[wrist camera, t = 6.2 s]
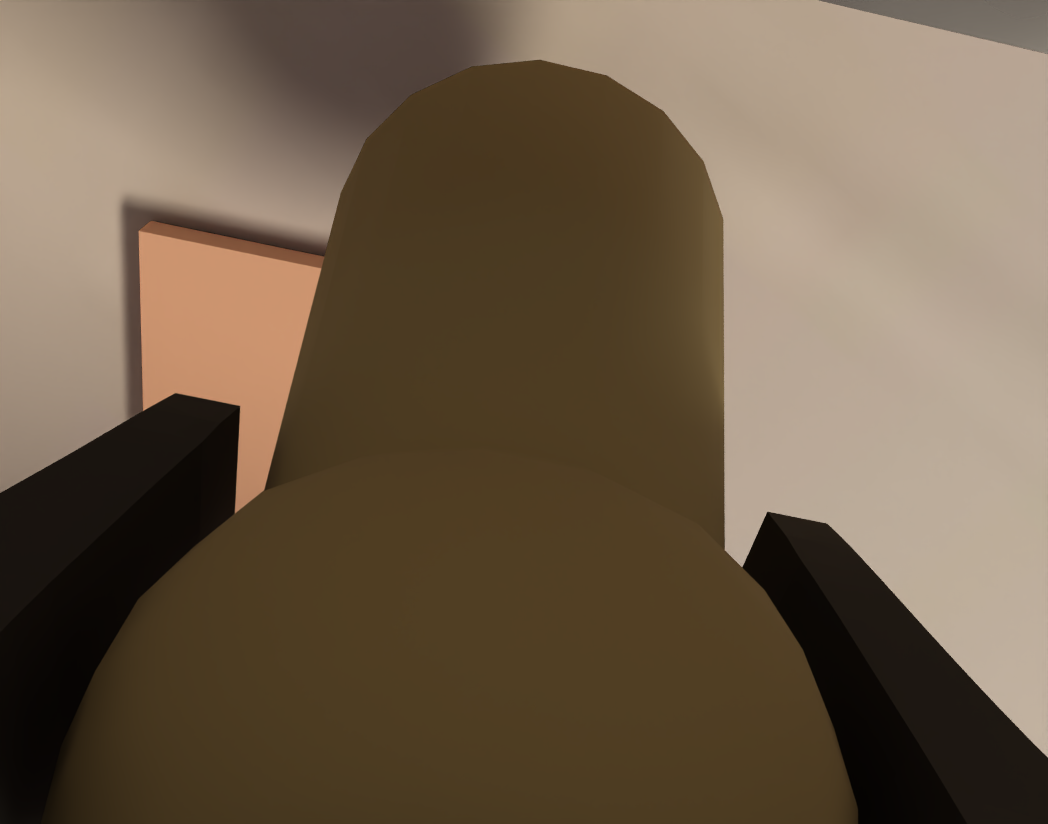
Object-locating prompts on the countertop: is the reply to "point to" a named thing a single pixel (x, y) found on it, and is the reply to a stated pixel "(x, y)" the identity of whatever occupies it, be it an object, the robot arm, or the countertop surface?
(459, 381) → the cork
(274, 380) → the mat
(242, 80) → the countertop surface
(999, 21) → the bent rail
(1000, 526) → the countertop surface
